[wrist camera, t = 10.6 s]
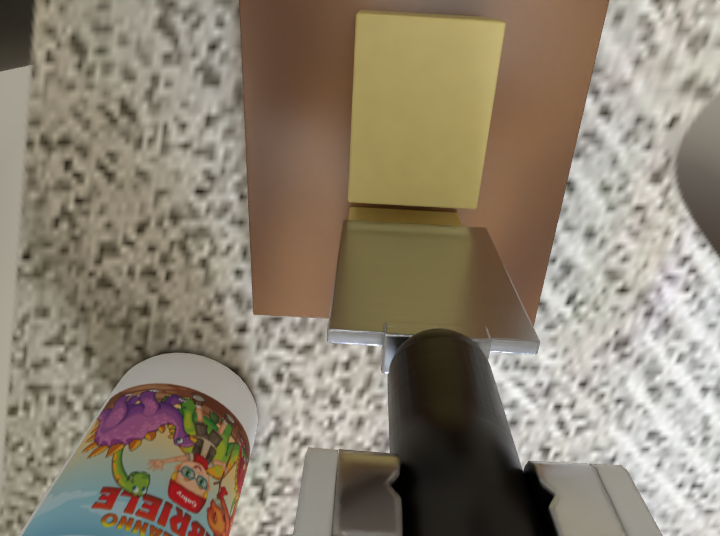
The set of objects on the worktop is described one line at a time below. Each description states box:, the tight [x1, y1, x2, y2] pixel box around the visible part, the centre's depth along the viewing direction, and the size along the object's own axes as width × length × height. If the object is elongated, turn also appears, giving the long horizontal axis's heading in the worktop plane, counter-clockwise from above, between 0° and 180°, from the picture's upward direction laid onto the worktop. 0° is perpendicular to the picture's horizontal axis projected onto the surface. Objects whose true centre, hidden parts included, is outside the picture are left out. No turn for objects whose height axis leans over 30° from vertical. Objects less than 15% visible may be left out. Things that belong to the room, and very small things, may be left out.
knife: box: [327, 219, 543, 536], centre depth 12 cm, size 5×2×16 cm, turn 87°
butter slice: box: [349, 207, 462, 226], centre depth 22 cm, size 4×2×4 cm, turn 87°
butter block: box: [348, 10, 506, 209], centre depth 19 cm, size 4×6×4 cm
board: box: [239, 0, 609, 327], centre depth 22 cm, size 13×18×2 cm
